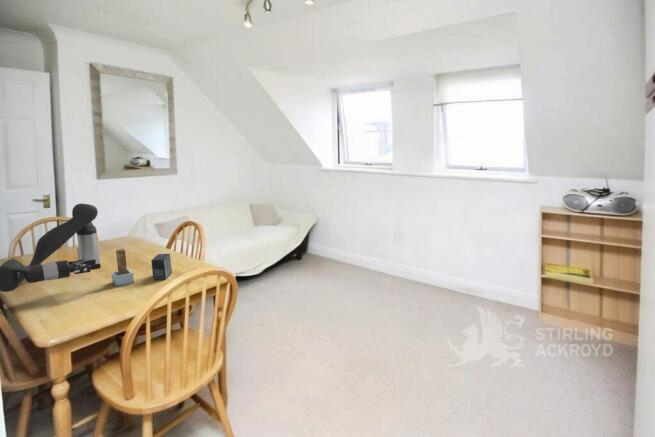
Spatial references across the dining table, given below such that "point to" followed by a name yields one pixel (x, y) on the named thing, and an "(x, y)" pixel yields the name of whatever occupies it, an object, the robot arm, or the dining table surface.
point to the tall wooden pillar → (121, 261)
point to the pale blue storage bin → (122, 278)
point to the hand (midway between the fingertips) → (97, 263)
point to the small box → (161, 266)
